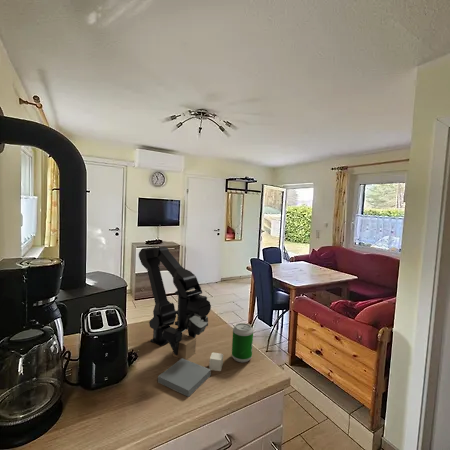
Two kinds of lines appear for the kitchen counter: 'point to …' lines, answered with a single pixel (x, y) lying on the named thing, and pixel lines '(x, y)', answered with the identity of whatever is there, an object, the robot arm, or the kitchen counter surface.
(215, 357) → the pale stone block
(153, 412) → the kitchen counter surface
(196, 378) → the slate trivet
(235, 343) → the soda can
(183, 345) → the walnut cube
